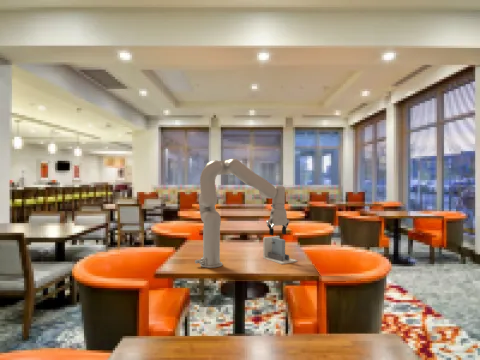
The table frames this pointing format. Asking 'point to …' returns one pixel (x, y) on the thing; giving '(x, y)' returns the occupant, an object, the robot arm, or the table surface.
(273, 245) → the door panel
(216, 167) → the robot arm
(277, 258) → the cabinet base
